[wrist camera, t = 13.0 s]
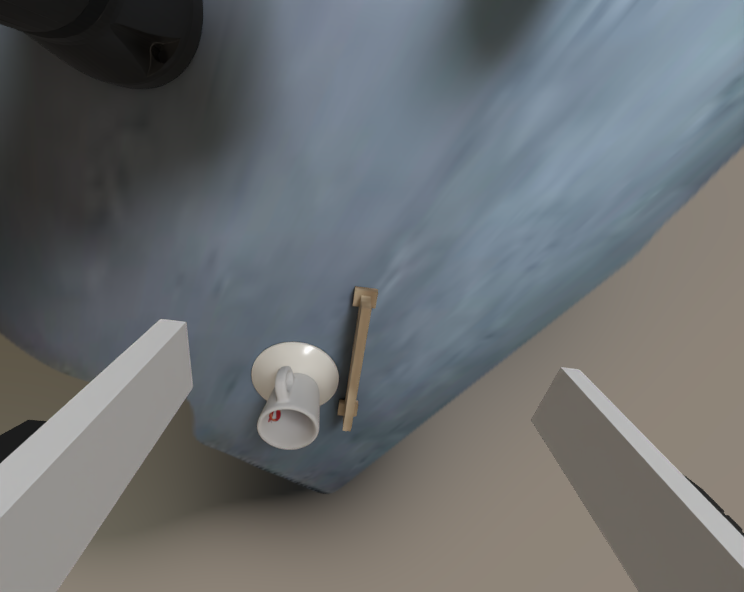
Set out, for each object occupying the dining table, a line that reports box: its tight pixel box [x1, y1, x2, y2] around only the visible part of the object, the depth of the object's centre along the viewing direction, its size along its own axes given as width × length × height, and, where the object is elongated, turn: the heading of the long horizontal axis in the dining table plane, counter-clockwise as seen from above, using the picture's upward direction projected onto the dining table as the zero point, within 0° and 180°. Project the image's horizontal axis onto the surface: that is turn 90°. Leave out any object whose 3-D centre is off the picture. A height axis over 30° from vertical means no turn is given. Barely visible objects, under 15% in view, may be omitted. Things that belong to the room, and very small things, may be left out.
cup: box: [257, 366, 320, 450], centre depth 43 cm, size 11×8×8 cm
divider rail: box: [338, 286, 378, 431], centre depth 43 cm, size 3×22×4 cm, turn 171°
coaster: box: [251, 342, 339, 406], centre depth 46 cm, size 13×13×1 cm
